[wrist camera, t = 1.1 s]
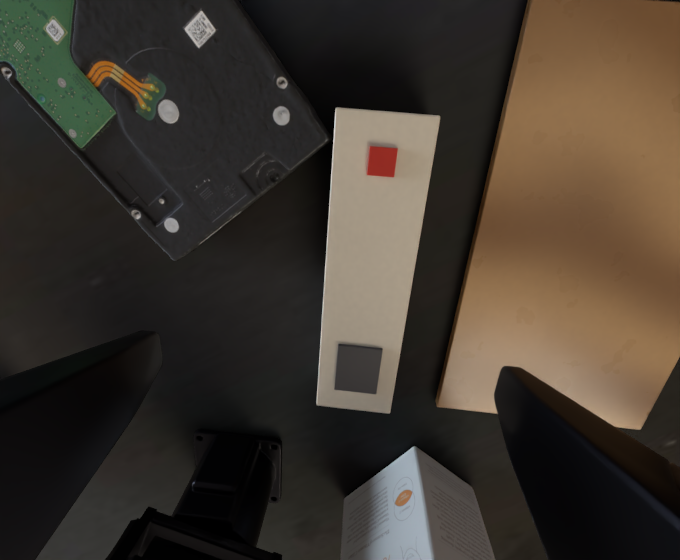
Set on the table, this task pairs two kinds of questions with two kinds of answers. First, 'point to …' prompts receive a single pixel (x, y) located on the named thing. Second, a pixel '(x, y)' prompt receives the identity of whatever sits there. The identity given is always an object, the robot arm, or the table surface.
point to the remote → (371, 251)
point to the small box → (414, 515)
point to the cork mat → (579, 216)
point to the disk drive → (163, 105)
